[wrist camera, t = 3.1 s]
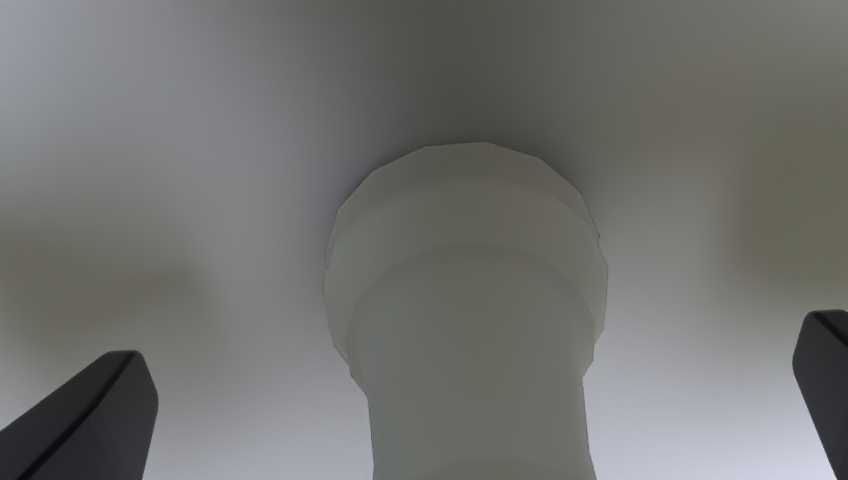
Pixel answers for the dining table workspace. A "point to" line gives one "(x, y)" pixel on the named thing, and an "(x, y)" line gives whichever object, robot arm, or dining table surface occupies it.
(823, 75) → the dining table surface
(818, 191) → the dining table surface
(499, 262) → the rook chess piece
